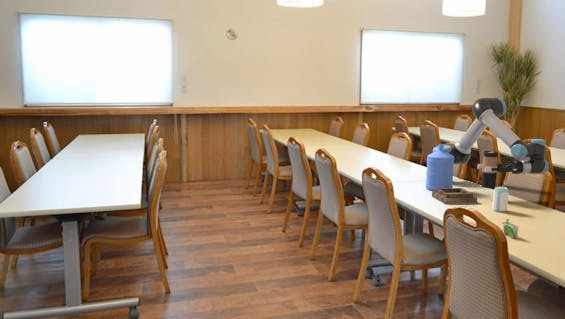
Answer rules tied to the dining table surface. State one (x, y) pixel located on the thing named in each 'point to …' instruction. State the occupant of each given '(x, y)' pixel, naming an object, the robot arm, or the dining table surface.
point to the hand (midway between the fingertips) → (481, 167)
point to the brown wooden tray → (454, 196)
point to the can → (500, 199)
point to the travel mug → (489, 161)
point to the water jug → (439, 170)
